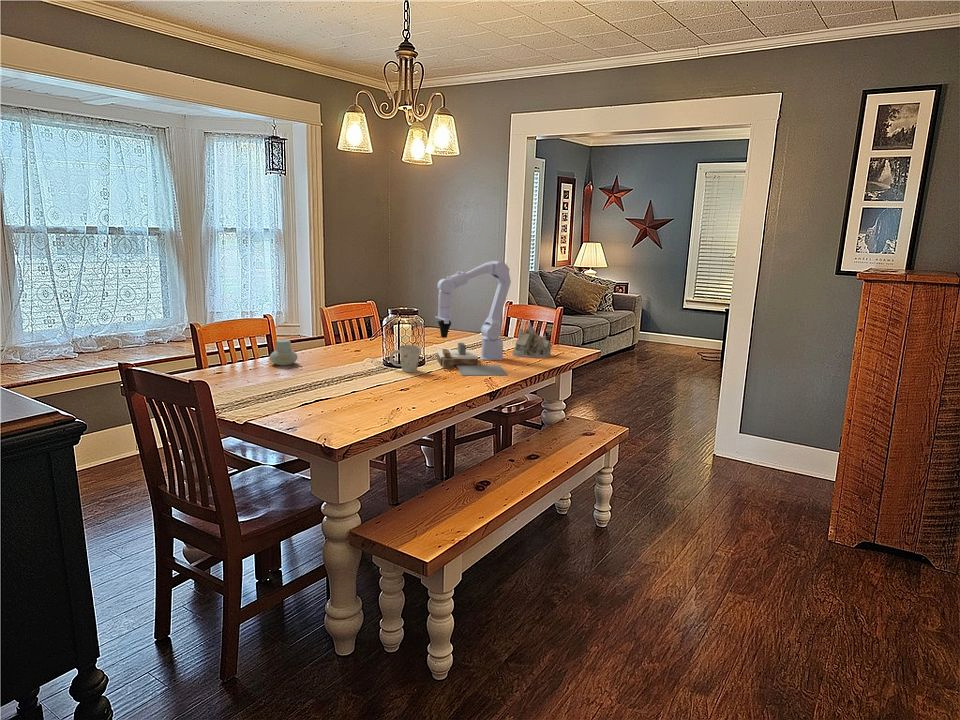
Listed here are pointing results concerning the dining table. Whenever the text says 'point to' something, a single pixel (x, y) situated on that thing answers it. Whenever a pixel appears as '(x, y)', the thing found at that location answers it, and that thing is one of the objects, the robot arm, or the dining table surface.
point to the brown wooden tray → (455, 362)
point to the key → (446, 353)
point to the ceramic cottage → (531, 344)
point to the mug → (407, 357)
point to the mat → (480, 370)
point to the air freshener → (283, 353)
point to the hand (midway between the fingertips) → (444, 337)
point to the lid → (460, 353)
